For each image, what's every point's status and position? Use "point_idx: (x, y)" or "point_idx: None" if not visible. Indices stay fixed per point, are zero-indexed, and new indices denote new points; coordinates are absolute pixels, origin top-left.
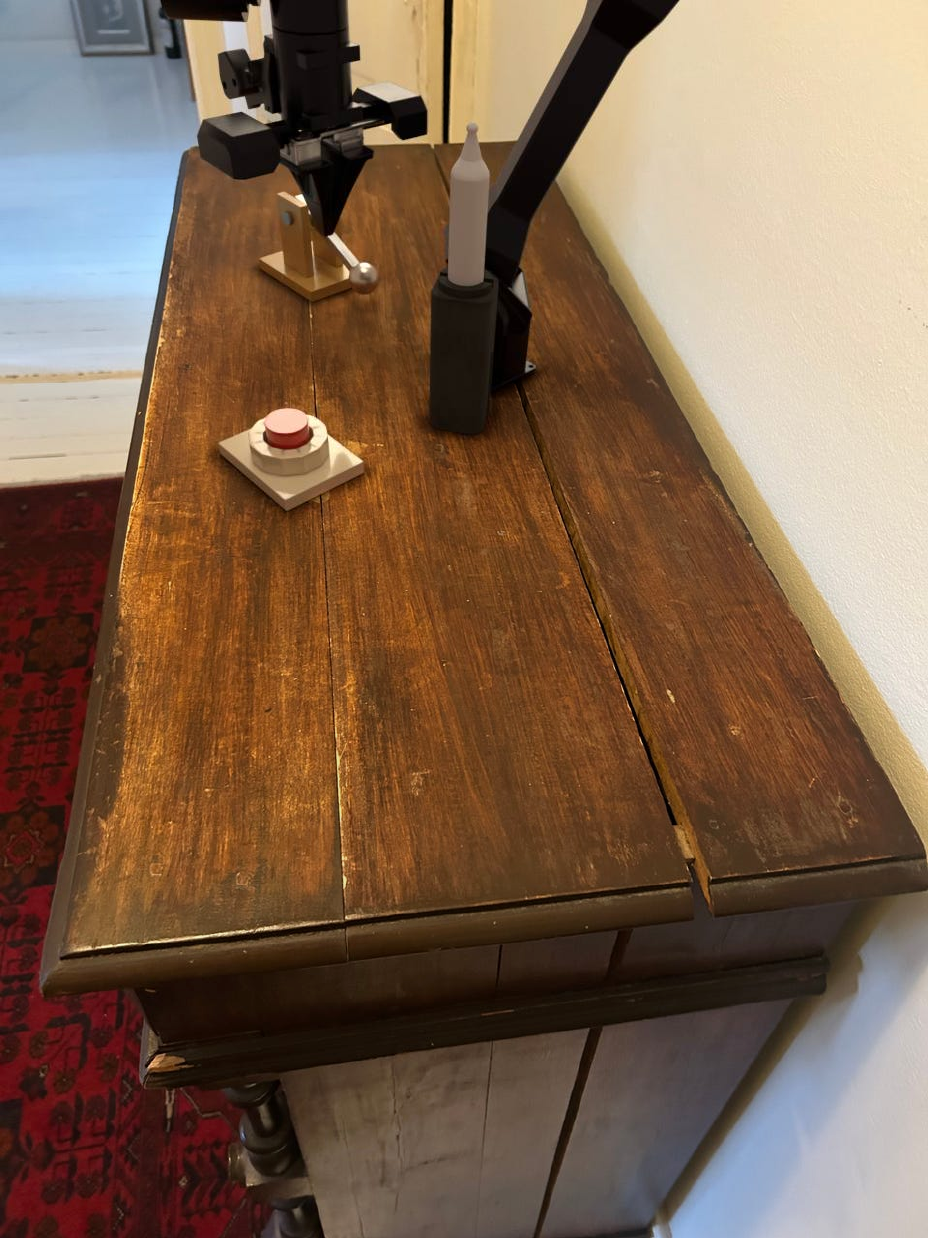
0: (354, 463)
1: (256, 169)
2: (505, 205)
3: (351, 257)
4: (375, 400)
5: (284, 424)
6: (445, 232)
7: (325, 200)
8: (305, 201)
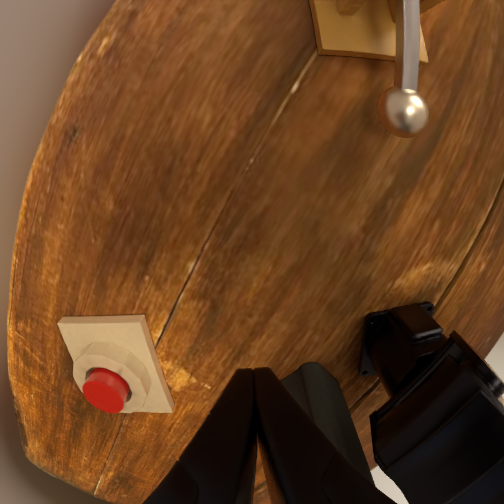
0: (163, 411)
1: None
2: None
3: (412, 72)
4: (247, 329)
5: (99, 400)
6: (466, 409)
7: None
8: (188, 444)
